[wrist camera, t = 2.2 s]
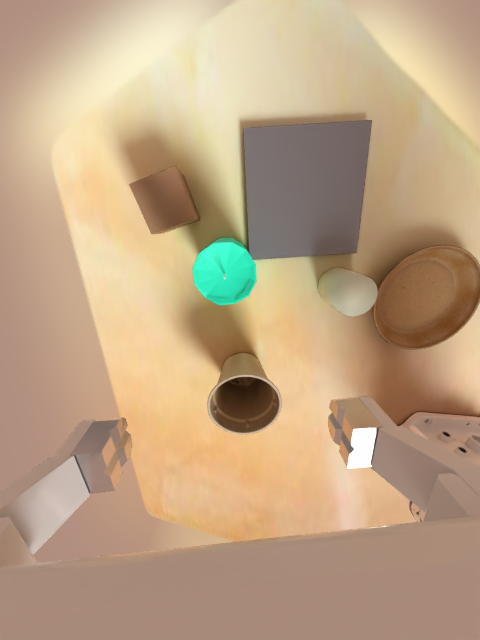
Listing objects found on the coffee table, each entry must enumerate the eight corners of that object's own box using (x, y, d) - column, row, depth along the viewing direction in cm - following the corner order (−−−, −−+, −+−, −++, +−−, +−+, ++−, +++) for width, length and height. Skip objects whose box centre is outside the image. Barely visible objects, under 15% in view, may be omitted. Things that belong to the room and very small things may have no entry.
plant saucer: (348, 330, 36) (356, 337, 34) (393, 230, 31) (407, 231, 29) (431, 350, 38) (445, 358, 36) (487, 259, 33) (507, 262, 31)
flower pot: (212, 341, 36) (206, 374, 28) (273, 342, 36) (285, 375, 28) (212, 392, 39) (207, 434, 31) (268, 392, 40) (278, 434, 32)
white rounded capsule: (355, 265, 33) (380, 273, 27) (351, 300, 34) (374, 314, 29) (318, 268, 32) (337, 277, 27) (316, 303, 34) (333, 317, 29)
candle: (197, 245, 31) (178, 255, 20) (241, 230, 30) (247, 231, 19) (213, 288, 33) (204, 319, 22) (254, 274, 32) (267, 299, 21)
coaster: (367, 123, 27) (372, 120, 26) (353, 252, 32) (356, 252, 31) (243, 131, 27) (243, 128, 26) (249, 259, 32) (249, 260, 31)
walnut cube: (184, 176, 28) (175, 166, 23) (200, 219, 30) (194, 218, 25) (145, 191, 28) (129, 184, 24) (163, 233, 30) (151, 234, 26)
